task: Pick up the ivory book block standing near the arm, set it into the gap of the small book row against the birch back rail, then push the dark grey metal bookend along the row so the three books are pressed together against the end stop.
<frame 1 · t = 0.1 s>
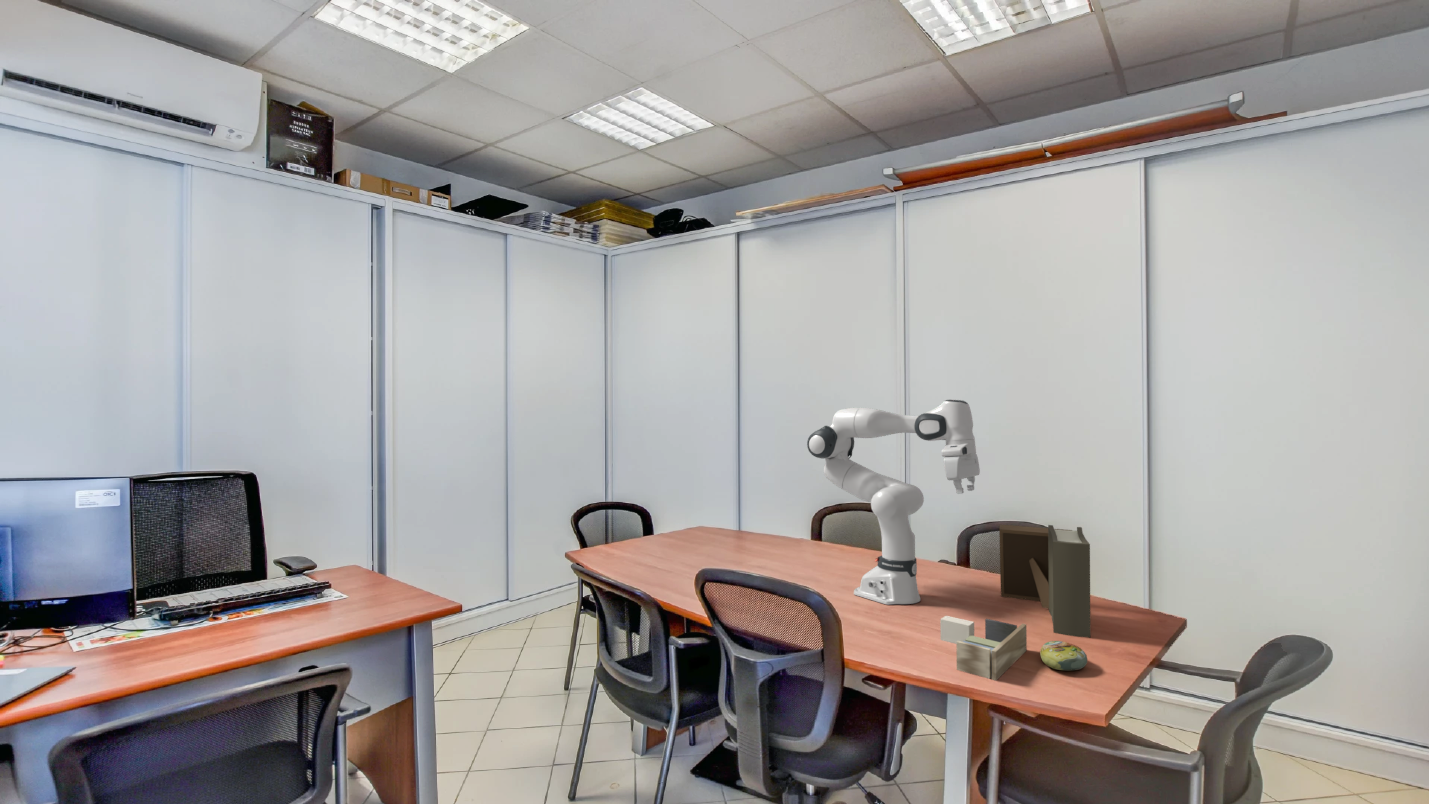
hand: (965, 492, 199), 39 cm above the table, fingers open, 8 cm apart
book olive: (984, 664, 160), on the table
book ivory: (957, 641, 175), on the table
bookend: (1004, 632, 172), point 4 cm above the table, slide at 0.0 cm
cell model: (1061, 665, 159), on the table
photo frame: (1035, 603, 208), on the table, touching book
book blue: (977, 670, 156), on the table
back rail: (989, 659, 163), on the table
book: (1068, 625, 188), on the table, touching photo frame
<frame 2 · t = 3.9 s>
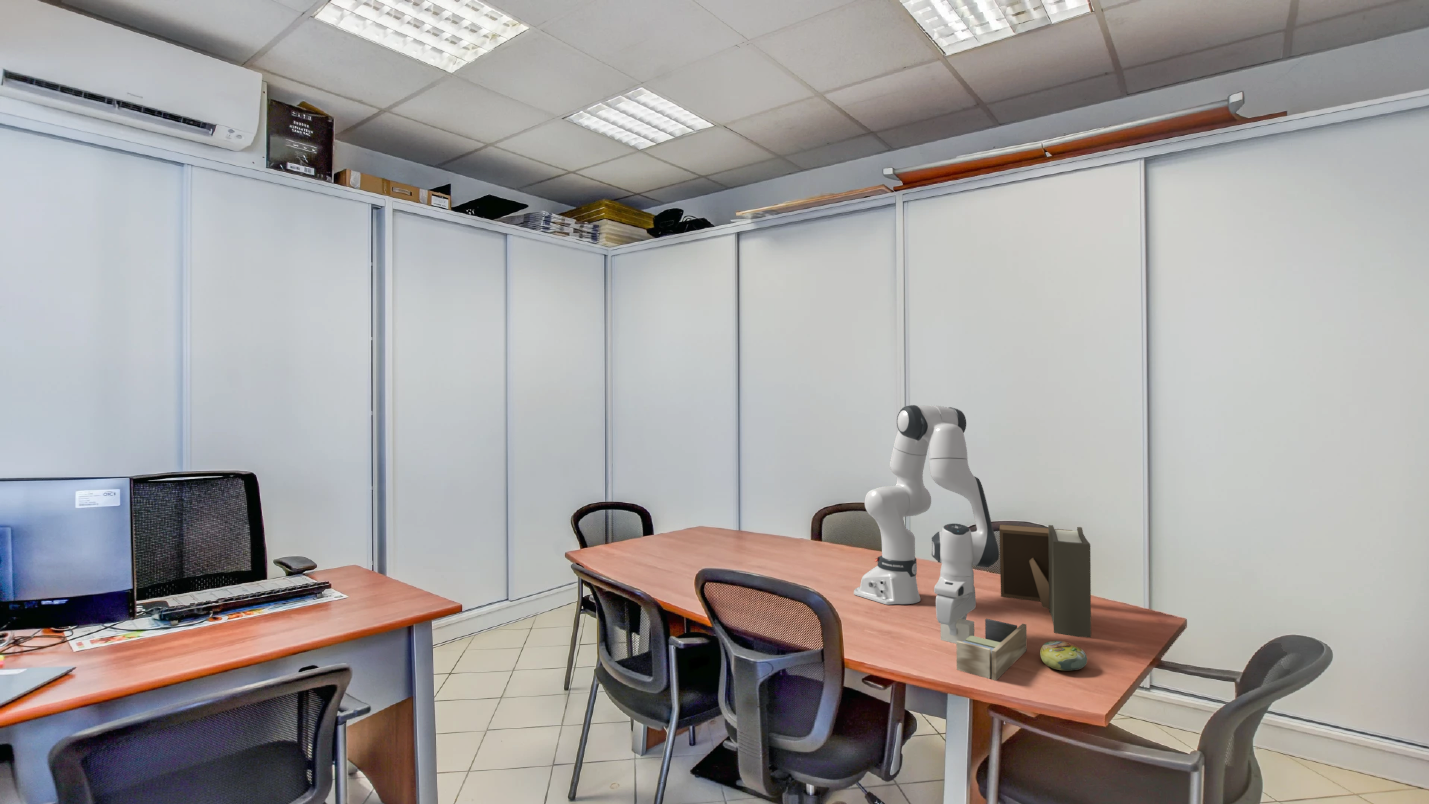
hand: (957, 632, 175), 3 cm above the table, fingers closed on book ivory, 4 cm apart
book ivory: (957, 641, 175), on the table, touching gripper
everything else where it was.
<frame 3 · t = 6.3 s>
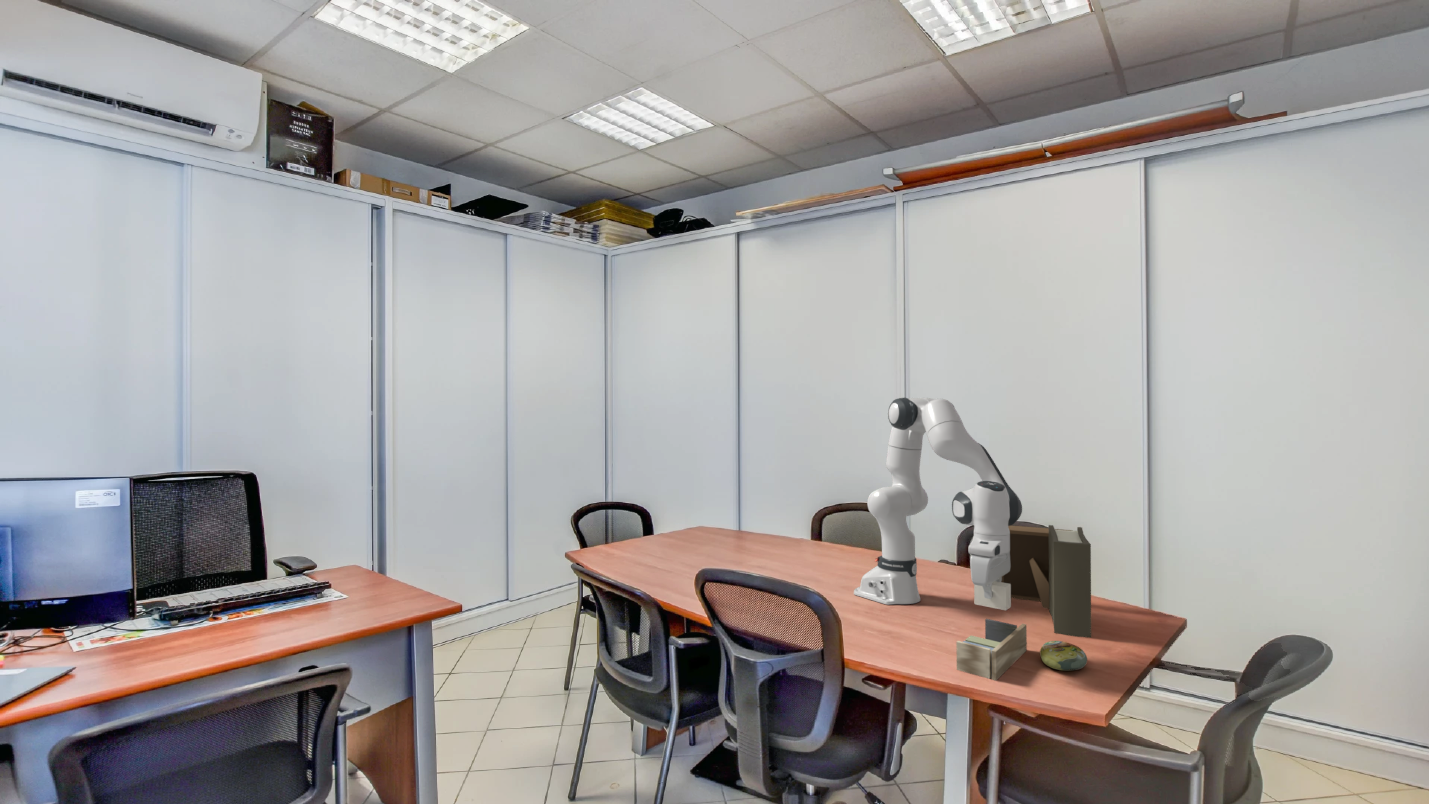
hand: (992, 595, 165), 16 cm above the table, fingers closed on book ivory, 4 cm apart
book ivory: (992, 605, 165), point 14 cm above the table, touching gripper
everything else where it was.
when the fingers open (4 cm above the table, at t = 8.8 s): book ivory drops 2 cm, on the table.
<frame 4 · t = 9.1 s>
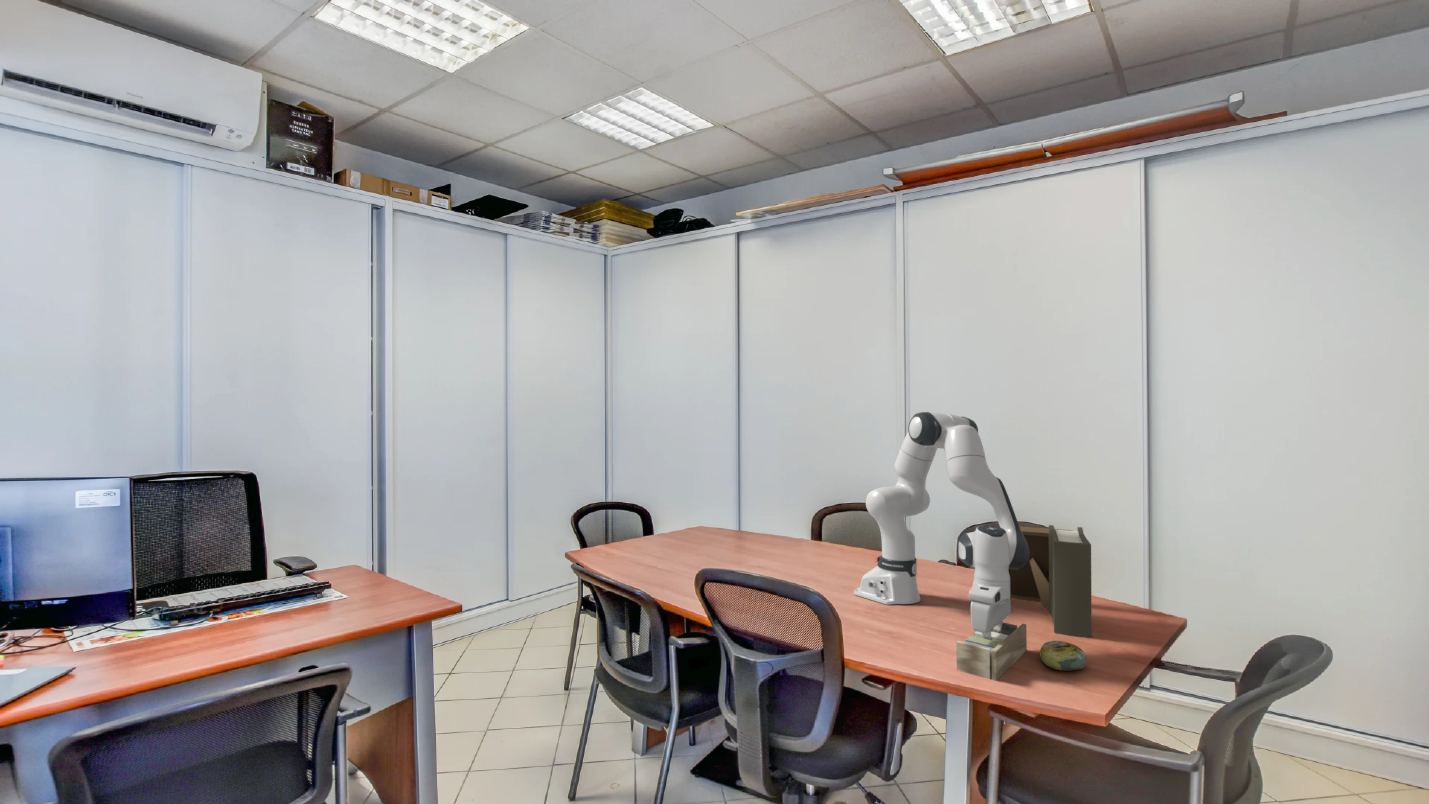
hand: (992, 640, 165), 4 cm above the table, fingers open, 5 cm apart
book ivory: (992, 656, 165), on the table
everything else where it was.
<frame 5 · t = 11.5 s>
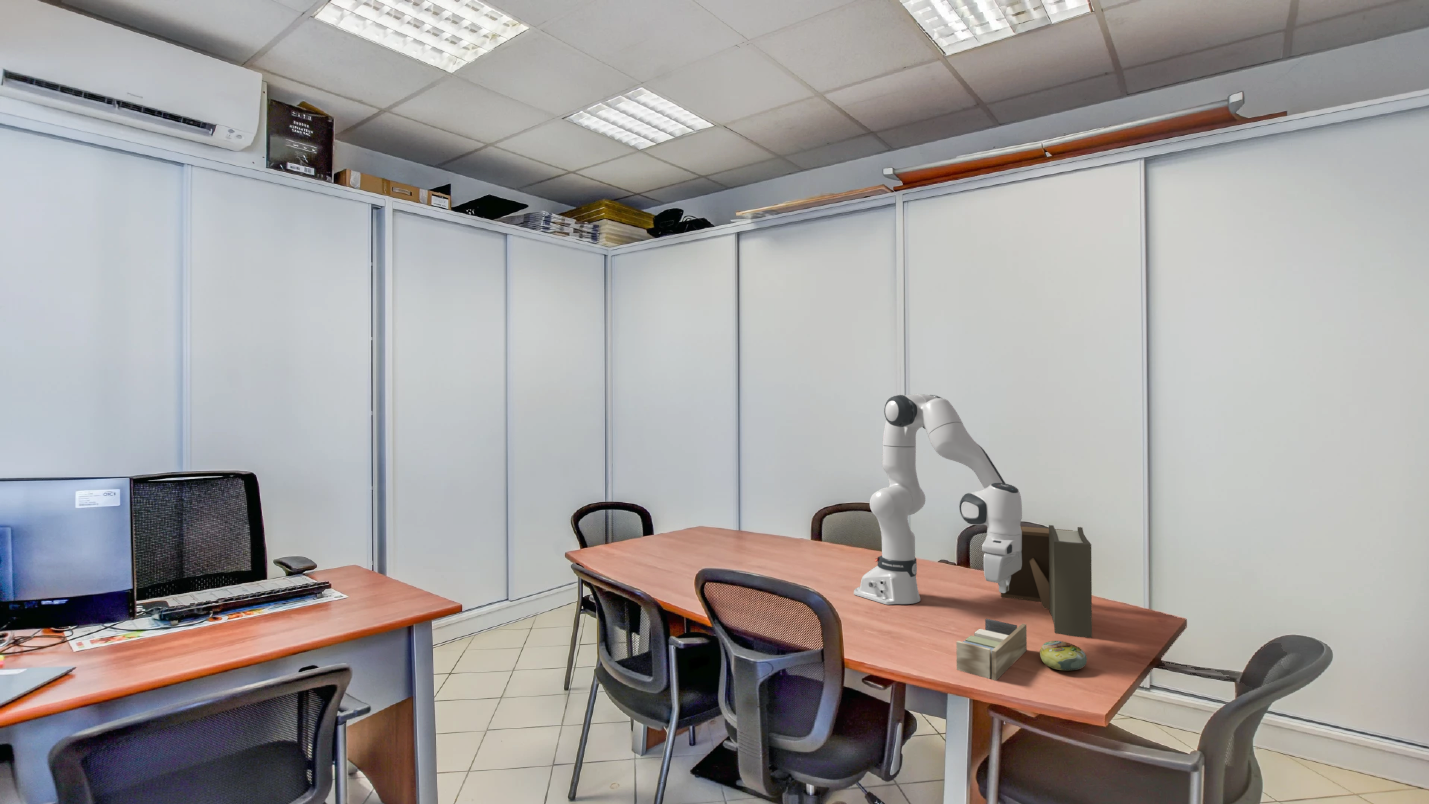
hand: (1003, 591, 173), 15 cm above the table, fingers closed
nothing on the table moved.
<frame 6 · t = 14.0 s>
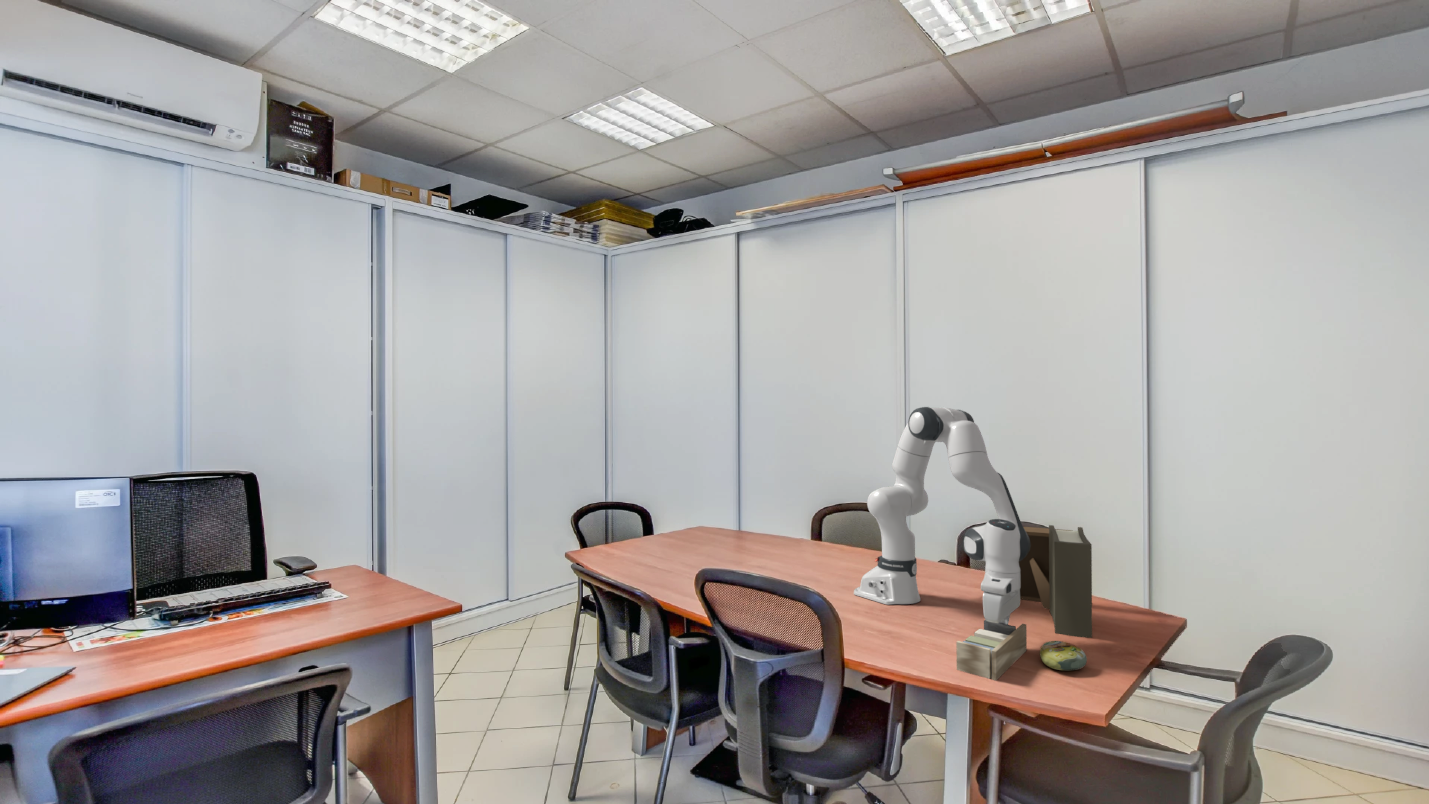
hand: (1003, 630, 171), 5 cm above the table, fingers closed
bookend: (1003, 633, 171), point 4 cm above the table, slide at 1.1 cm, touching gripper
everything else where it was.
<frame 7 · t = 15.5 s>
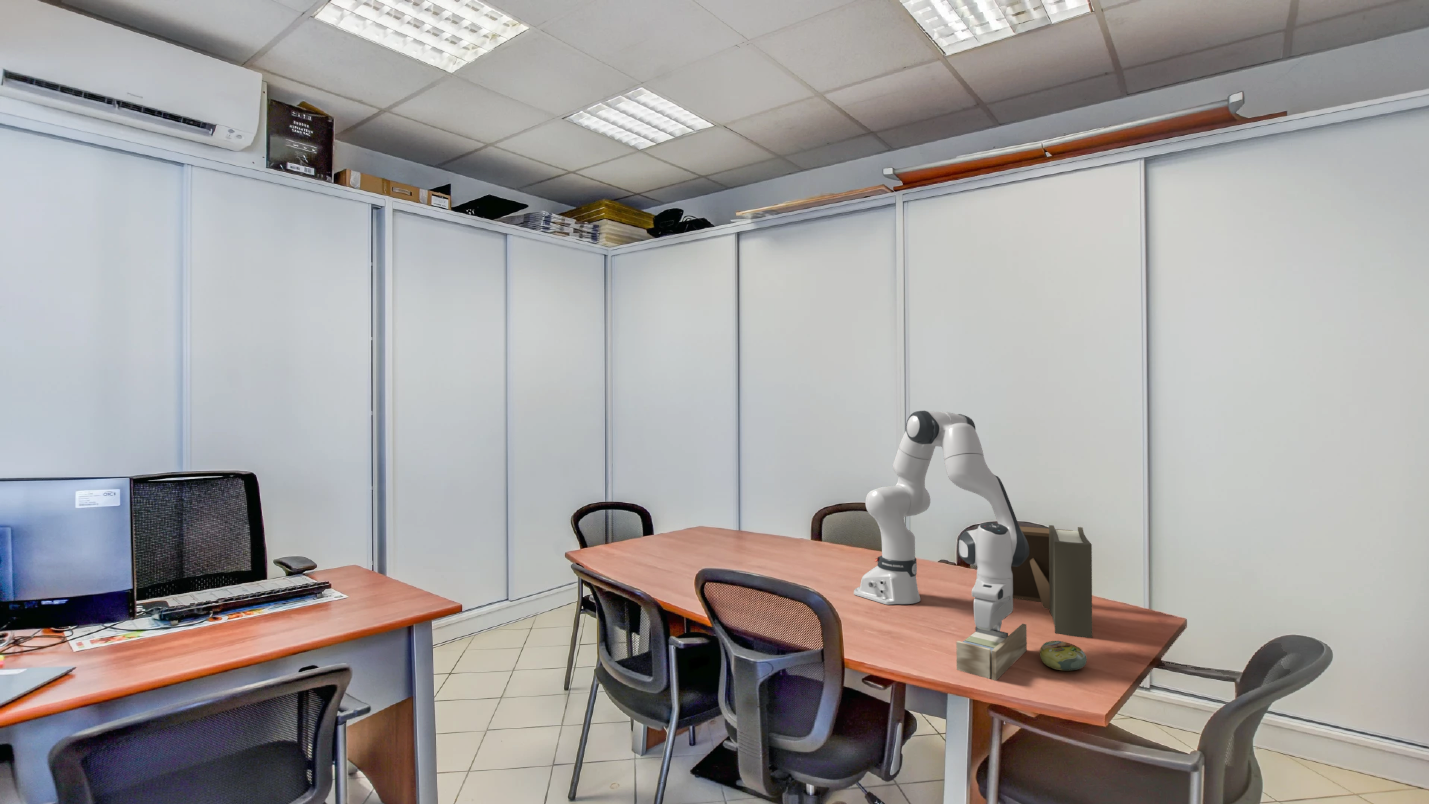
hand: (995, 637, 166), 5 cm above the table, fingers closed
book olive: (983, 665, 159), on the table, touching book ivory
book ivory: (988, 660, 162), on the table, touching book olive
bookend: (995, 639, 166), point 4 cm above the table, slide at 7.6 cm, touching gripper
everything else where it was.
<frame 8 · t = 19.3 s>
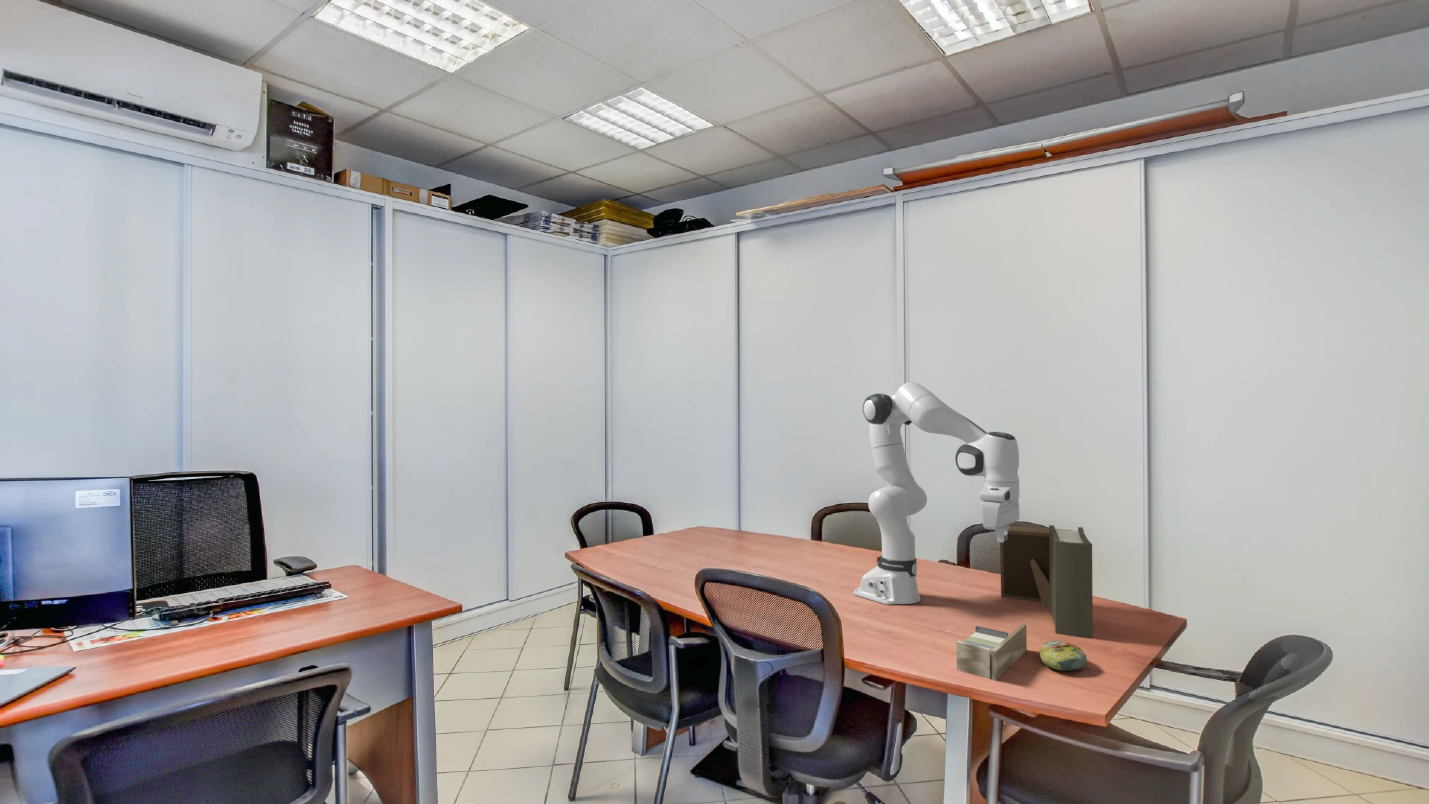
hand: (1002, 541, 171), 29 cm above the table, fingers closed
book olive: (983, 665, 159), on the table
book ivory: (988, 660, 162), on the table
bookend: (995, 639, 166), point 4 cm above the table, slide at 7.5 cm
everything else where it was.
at the end: book ivory inside the target area (0.1 cm from its centre), on the table; book ivory tilted 0°; bookend slide at 7.5 cm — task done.
